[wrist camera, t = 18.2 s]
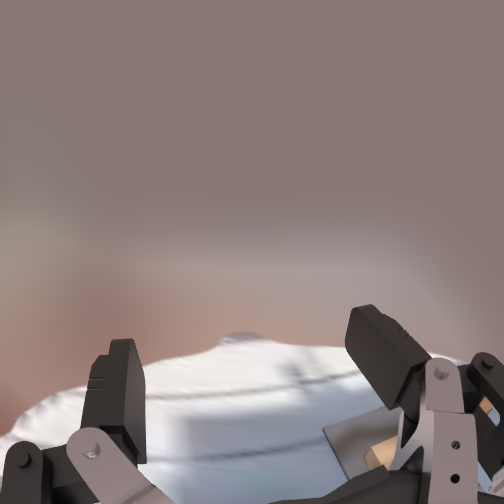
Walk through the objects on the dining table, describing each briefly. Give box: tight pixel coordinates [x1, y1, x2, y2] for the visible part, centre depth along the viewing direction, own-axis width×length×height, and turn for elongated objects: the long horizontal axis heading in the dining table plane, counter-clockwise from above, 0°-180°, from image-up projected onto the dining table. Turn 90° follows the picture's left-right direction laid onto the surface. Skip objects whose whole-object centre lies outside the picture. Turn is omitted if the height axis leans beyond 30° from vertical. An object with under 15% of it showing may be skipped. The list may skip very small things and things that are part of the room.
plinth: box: [323, 406, 485, 493], centre depth 26 cm, size 24×16×4 cm, turn 14°
